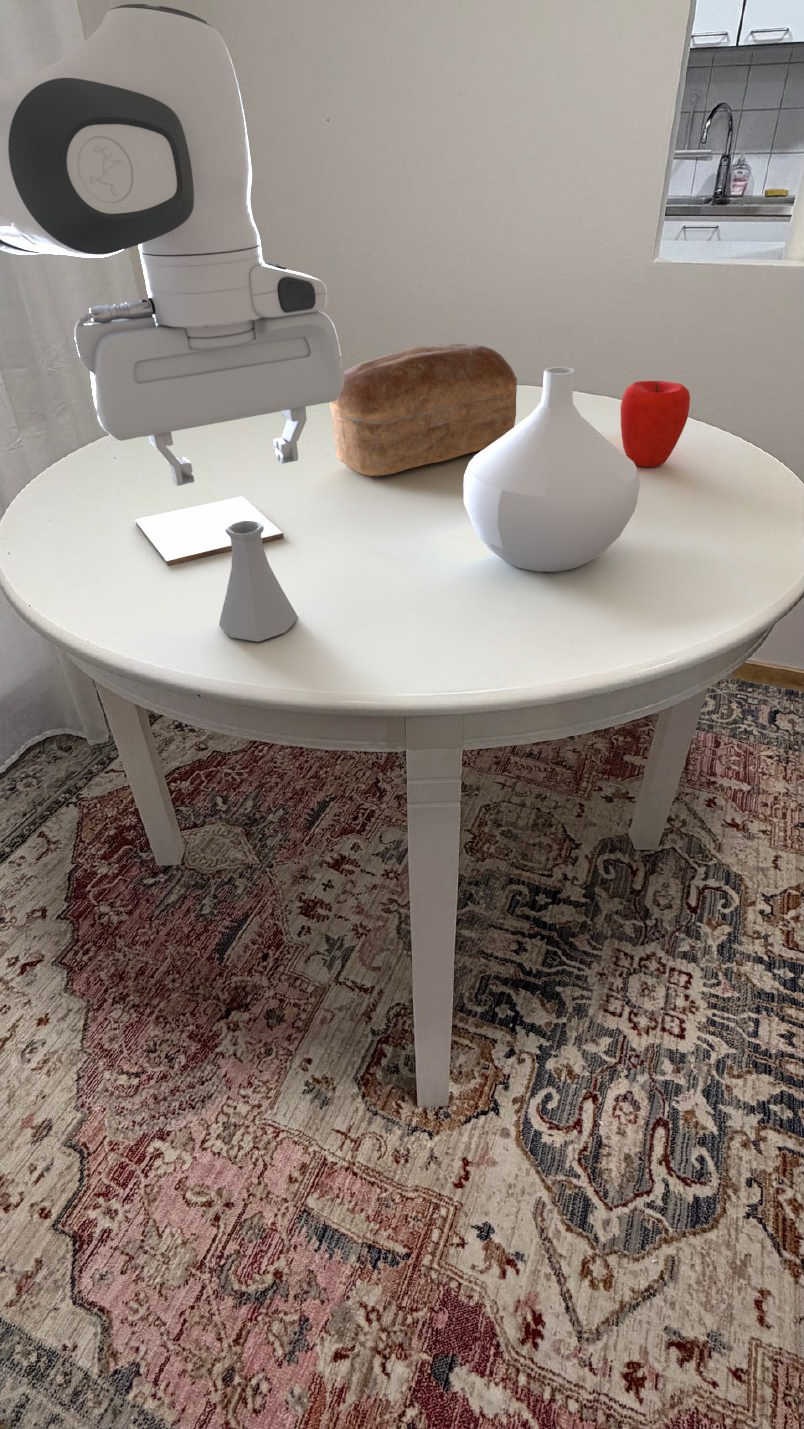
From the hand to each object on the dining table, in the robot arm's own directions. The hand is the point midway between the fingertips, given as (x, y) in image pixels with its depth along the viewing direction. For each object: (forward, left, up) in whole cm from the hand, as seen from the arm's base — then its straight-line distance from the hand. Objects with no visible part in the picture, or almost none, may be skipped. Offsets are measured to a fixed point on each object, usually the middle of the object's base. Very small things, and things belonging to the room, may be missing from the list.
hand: (236, 471), depth 69 cm
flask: (0, 0, -15) cm, 15 cm away
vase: (+33, -2, -15) cm, 36 cm away
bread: (+39, +34, -15) cm, 54 cm away
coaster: (+3, +25, -15) cm, 29 cm away
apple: (+63, +14, -15) cm, 66 cm away
